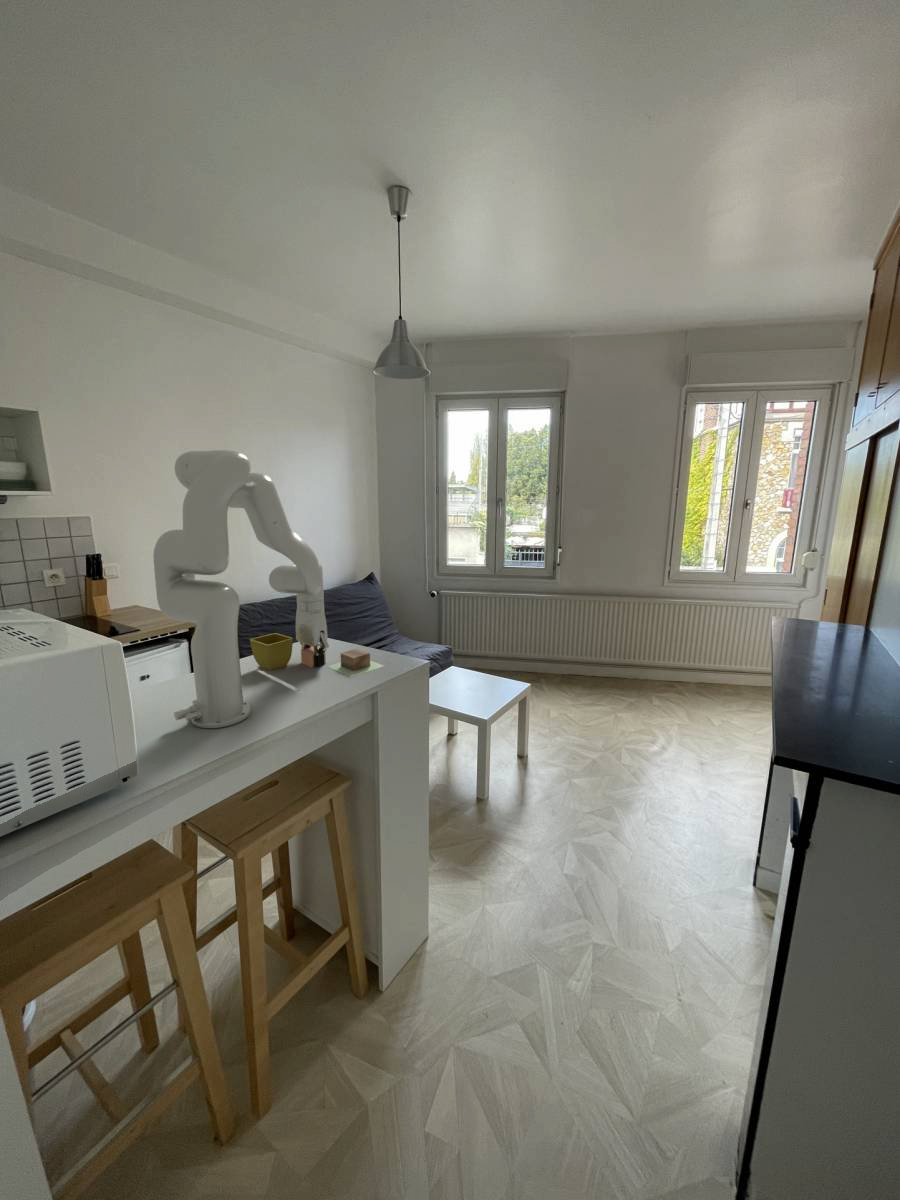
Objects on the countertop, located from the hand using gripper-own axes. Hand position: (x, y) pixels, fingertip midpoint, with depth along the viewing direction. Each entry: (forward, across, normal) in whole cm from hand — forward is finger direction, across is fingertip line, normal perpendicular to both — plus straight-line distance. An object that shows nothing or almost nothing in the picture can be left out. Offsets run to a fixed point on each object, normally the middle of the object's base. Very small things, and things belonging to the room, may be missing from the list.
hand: (313, 664), depth 146 cm
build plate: (+1, +11, +7) cm, 13 cm away
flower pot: (+1, -7, -9) cm, 12 cm away
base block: (0, +11, +7) cm, 13 cm away
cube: (+1, 0, 0) cm, 1 cm away
